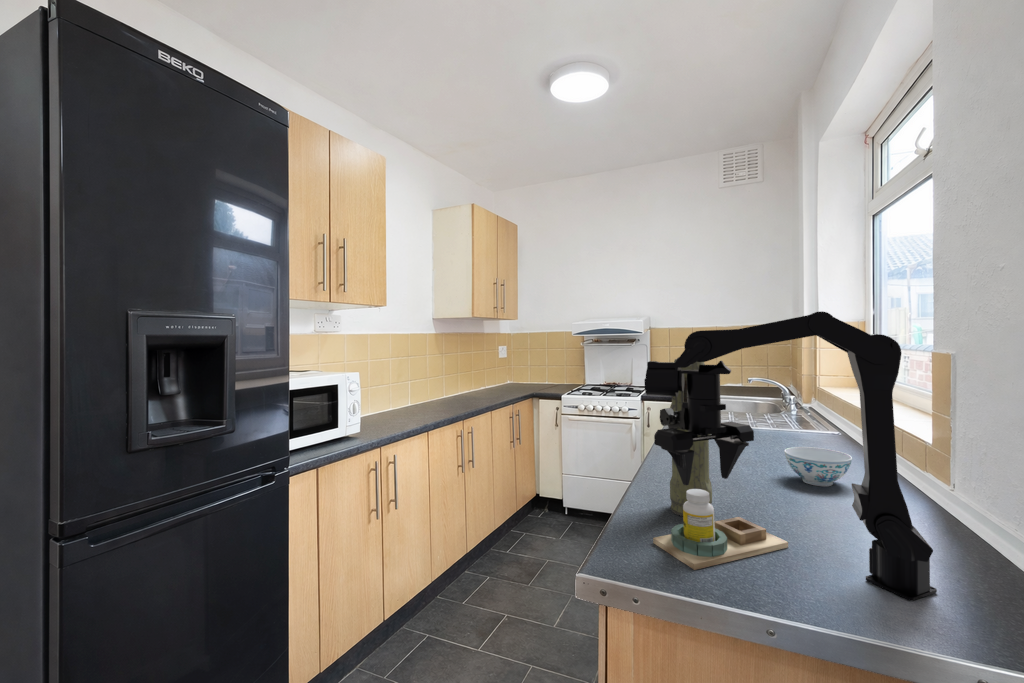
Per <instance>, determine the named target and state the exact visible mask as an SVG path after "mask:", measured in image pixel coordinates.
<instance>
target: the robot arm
mask: <svg viewBox="0 0 1024 683" xmlns="http://www.w3.org/2000/svg"><path fill="white" fill-rule="evenodd" d="M814 336H815V337H818V338H820V339H822V340H824V341H825V342H827V343H829V344H831V345H833V346H834V347H835V348H838V349H839V350H841V351H843V352H845V353H847V358H848V361H849V364H850V367H851V371H852V374H853V377H854V379H855V383H856V385H857V388H858V391H859V404H860V417H861V419H860V420H861V435H862V436H861V437H862V446H863V447H862V449H863V450H862V452H863V465H864V468H863V469H864V475H863V476H864V477H863V478H862V479H863V480H862V483H861V484H858V483H857V484H856V483H851V484H850V485H851V488H852V489H851V490H852V493H853V503H852V505H851V506H852V508H853V510H854V512H855V513H856V516H857V517H858V519H859V521H862V523H863V524H864V526H865V528H866V530H867V532H868V533H869V534H870V535H872V537H873V538H875V539H873V540H872V541H871V547H870V548H869V549H868V561H869V562H868V564H869V565H868V567H869V568H868V569H869V574H870V575H866V576H865V581H867V582H869V583H871V584H873V585H876V586H878V587H879V588H882V589H885V590H887V591H888V592H891V593H892V594H894V595H898V596H900V597H901V598H904V599H907V600H908V601H916V600H919V599H922V598H925V597H927V596H930V595H933V594H936V593H937V592H938V589H937V588H936V587H934V586H931V570H930V569H931V562H930V561H931V556H932V554H933V552H934V549H933V548H932V547H931V545H930V544H929V543H928V542H927V540H926V538H924V536H922V534H921V532H919V531H918V530H917V528H916V527H915V526H914V525H913V523H912V519H911V516H910V512H909V509H908V504H907V503H906V500H905V497H904V494H903V492H902V489H901V487H900V484H899V478H898V464H897V462H898V461H897V447H896V430H895V414H894V401H893V400H894V399H893V392H894V387H895V385H896V382H897V379H898V376H899V371H900V365H901V359H902V349H901V346H900V344H899V342H898V341H896V340H895V339H894V338H892V337H891V336H889V335H888V336H887V335H885V334H878V333H872V334H871V333H868V332H866V331H864V330H862V329H860V328H858V327H855V326H854V325H851V324H850V323H847V322H845V321H843V320H840V319H839V318H836V316H833V314H831V313H829V312H827V311H816V312H815V311H814V312H812V313H811V314H807V315H802V316H797V317H793V318H788V319H787V318H786V319H783V320H778V321H773V322H768V323H762V324H758V325H757V324H756V325H753V326H747V327H743V328H736V329H733V328H732V329H731V328H730V329H711V330H710V329H709V330H707V329H706V330H696V331H693V332H691V333H690V334H689V335H688V336H687V337H686V338H685V342H684V350H683V352H682V353H681V354H680V356H678V357H679V358H678V357H677V358H676V359H677V361H676V362H674V361H666V362H665V361H664V362H662V361H656V360H650V361H647V362H646V363H647V365H646V366H647V368H646V371H645V378H644V379H643V380H644V389H645V390H644V391H645V395H646V396H649V397H668V398H669V397H671V398H672V397H678V393H679V391H680V392H683V391H684V374H687V402H683V404H682V410H681V411H675V412H674V411H673V409H672V408H670V407H668V408H662V409H660V411H659V421H660V424H661V426H662V427H666V426H668V427H667V428H661V429H657V431H655V432H654V434H653V435H654V437H653V440H654V441H653V442H654V445H655V446H659V447H660V448H661V450H664V451H667V452H668V453H669V455H670V456H671V459H672V458H673V460H674V462H675V465H676V467H677V470H678V472H679V475H680V477H681V480H682V483H683V484H684V485H689V481H690V477H691V470H692V463H693V457H694V451H693V450H690V448H691V447H692V445H693V442H696V441H704V440H709V441H711V440H714V442H715V443H716V446H717V447H718V449H719V466H720V467H719V468H720V469H719V470H720V476H721V478H722V479H724V480H727V479H728V478H729V476H730V475H731V472H732V470H733V469H734V467H735V465H736V464H737V462H738V459H739V458H740V456H741V455H742V453H743V452H744V450H745V448H746V447H749V446H750V442H753V441H754V440H755V435H754V434H755V433H754V432H755V431H754V429H753V428H752V426H751V425H750V424H745V423H739V422H735V421H724V422H722V411H726V410H727V405H726V403H721V402H722V401H721V375H730V374H731V373H732V369H731V368H730V367H728V366H727V365H726V364H725V363H724V361H723V360H720V361H718V362H717V363H716V364H705V365H699V370H681V368H686V367H688V366H690V365H692V364H694V363H695V362H704V363H706V362H708V361H712V360H714V359H717V358H720V357H723V356H726V355H728V354H732V353H734V352H737V351H739V350H743V349H748V348H752V347H753V348H755V347H759V346H764V345H770V344H775V343H781V342H787V341H792V340H799V339H803V338H808V337H814ZM678 429H682V430H688V432H686V431H682V430H678ZM708 434H711V435H708ZM698 435H701V436H698Z"/></svg>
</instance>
